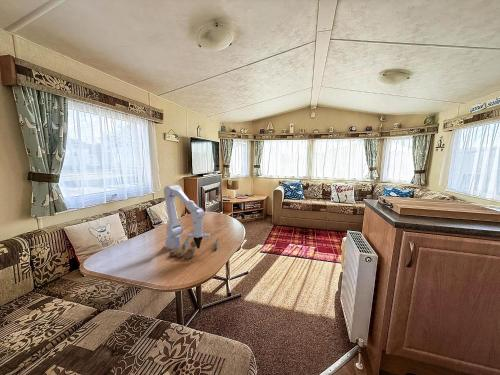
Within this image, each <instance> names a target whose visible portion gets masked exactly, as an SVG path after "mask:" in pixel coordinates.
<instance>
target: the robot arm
mask: <svg viewBox="0 0 500 375" xmlns="http://www.w3.org/2000/svg"><path fill="white" fill-rule="evenodd" d="M163 194H164V201H165V205H166V206H165V207H166V212H167V217H168V225H166V235H167V236H166V238H165V249H167V250H169V249H170V250H172V249H173V248H178V249H181V247H182V242H181V241H182V239H181V238H182V237H181V236H182V234H183V233H184V227H183V226H182V223H181V222H180V221H178V215H177V209H176V205H175V198H179V199H180V201H182V202H183V204H184V207H185V208H186V209H187V210H188V211H189V213H190V217H191V218H192V221H193V226H192V227H193V233H191V232H190V233H186V234H185V235H186V239H187V238H193V239H192V241H194V242H195V244H196V249H201V248H200V247H201V244H202V240H203V238H208V239H210V237H211V233H206V232H204V230H203V229H204V228H203V226H204V224H203V221H204V219H203V218H204V216H205V210H204V209H203V208H202V207H199V206H198V205H197V204H196V203H195V201H194V200H190V199H189V197H188V196H187V195H186V193H185V192H184V191H183V188H182V186H181V185H180V184H173V185H166V186H165V187H164V188H163Z"/></svg>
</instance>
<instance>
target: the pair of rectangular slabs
mask: <svg viewBox="0 0 500 375" xmlns="http://www.w3.org/2000/svg"><path fill="white" fill-rule="evenodd" d="M219 241H220V240H219V237H216V239H215V243H214V251H217V250H218V246H219ZM189 245H190V237H188V238H186V239H185V241H184V242H183V244H182V249H183V250H184V252H186V251H187V250H186V249H188V246H189Z"/></svg>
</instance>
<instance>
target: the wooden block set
mask: <svg viewBox="0 0 500 375" xmlns="http://www.w3.org/2000/svg"><path fill="white" fill-rule="evenodd" d="M189 245H190V246H189V247H188V248H187V250H185V251H184V250H183V248H173V249H170V251H169V252H168V254H169V256H170V257H171V258H173V257H175V256H176V257H177V258H178V259H180V258H182V257H184V258H185V259H187V260H189V259H191V257H192V255H193V254H194V253H195V251H196V248H197V246H196V243H195V241H194V240H192V241H191V242H189Z"/></svg>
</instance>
